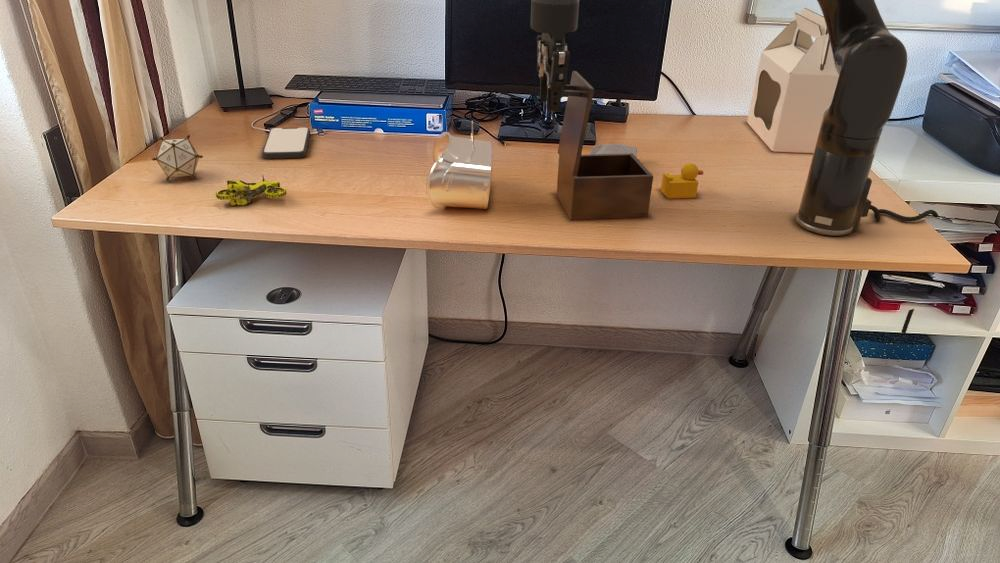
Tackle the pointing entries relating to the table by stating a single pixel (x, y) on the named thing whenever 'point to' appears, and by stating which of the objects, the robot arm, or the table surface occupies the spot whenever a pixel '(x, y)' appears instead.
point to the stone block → (613, 149)
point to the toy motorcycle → (250, 191)
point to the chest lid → (575, 121)
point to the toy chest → (605, 187)
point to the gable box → (794, 86)
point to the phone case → (286, 143)
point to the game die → (177, 157)
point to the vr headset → (460, 172)
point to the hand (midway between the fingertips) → (549, 105)
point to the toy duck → (681, 182)
